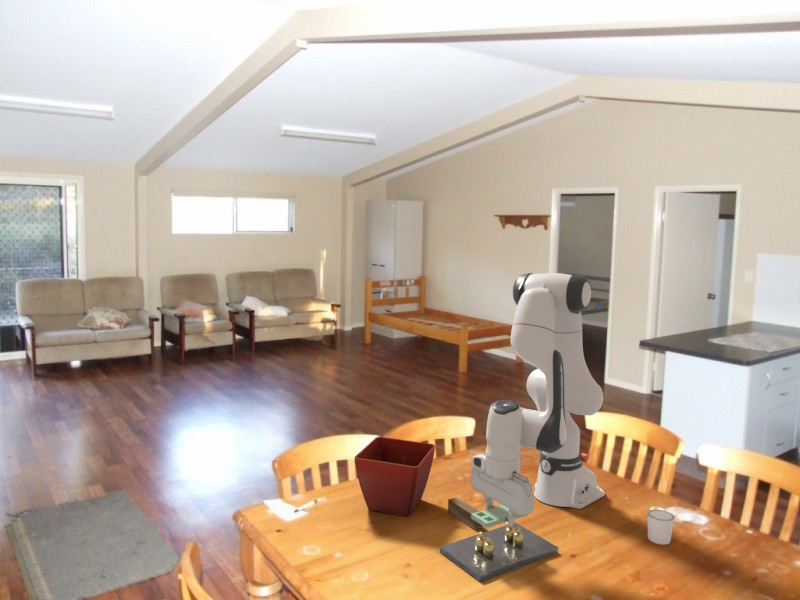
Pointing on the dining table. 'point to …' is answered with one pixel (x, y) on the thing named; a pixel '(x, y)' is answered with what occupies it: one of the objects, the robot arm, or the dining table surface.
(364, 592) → the dining table surface
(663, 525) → the white cup
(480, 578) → the peg assembly base
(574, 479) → the robot arm
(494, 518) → the board
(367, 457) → the plant pot
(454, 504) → the stand
